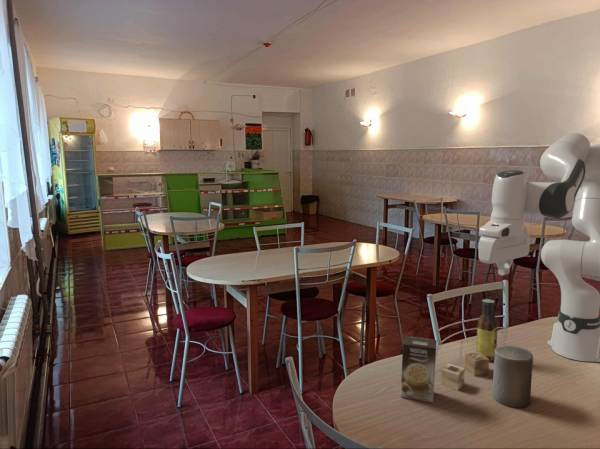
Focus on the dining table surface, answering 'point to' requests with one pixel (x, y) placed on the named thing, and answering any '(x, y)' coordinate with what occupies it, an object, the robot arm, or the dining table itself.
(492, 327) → the sauce bottle
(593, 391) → the dining table surface
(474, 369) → the wooden cube
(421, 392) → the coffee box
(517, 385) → the pillar candle
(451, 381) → the marked block beech
